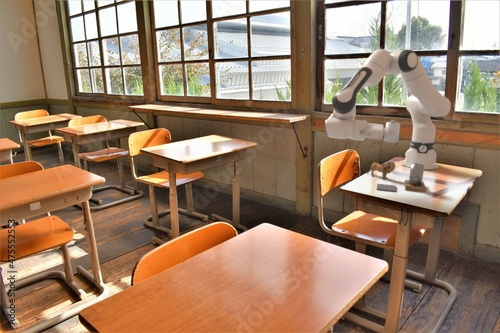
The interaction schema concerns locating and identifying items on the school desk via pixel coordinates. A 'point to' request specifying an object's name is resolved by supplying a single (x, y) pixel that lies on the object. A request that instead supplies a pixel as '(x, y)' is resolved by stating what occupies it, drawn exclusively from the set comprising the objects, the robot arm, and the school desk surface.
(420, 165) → the flask
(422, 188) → the caddy
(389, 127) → the white canister
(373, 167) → the lion figurine
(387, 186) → the coaster
